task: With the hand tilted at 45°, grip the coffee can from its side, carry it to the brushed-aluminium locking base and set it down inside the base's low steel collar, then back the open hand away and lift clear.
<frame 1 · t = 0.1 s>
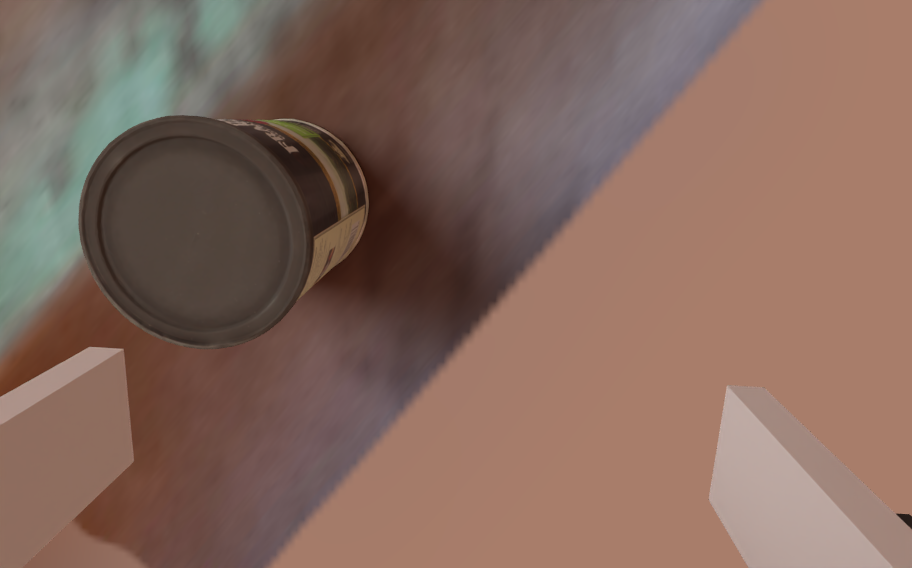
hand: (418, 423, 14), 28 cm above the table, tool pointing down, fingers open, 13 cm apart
coffee can: (291, 200, 41), on the table
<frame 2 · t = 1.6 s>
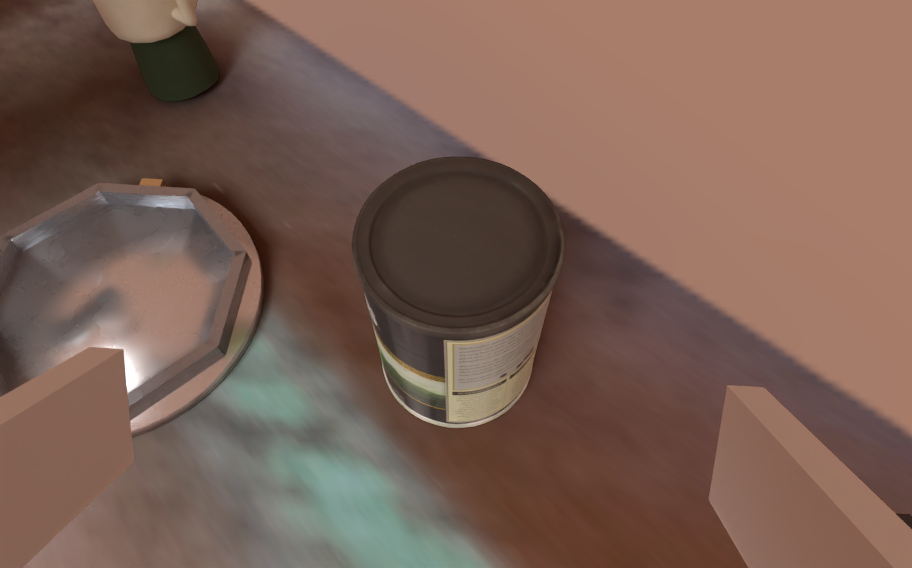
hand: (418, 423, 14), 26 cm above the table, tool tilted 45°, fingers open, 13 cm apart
coffee can: (458, 357, 43), on the table
character mug: (186, 84, 56), on the table
locking base: (121, 305, 45), on the table
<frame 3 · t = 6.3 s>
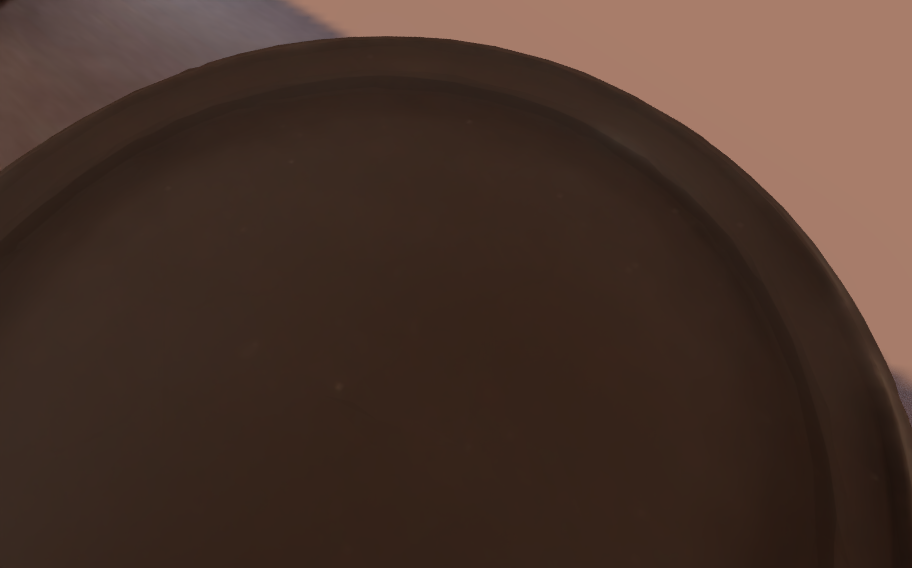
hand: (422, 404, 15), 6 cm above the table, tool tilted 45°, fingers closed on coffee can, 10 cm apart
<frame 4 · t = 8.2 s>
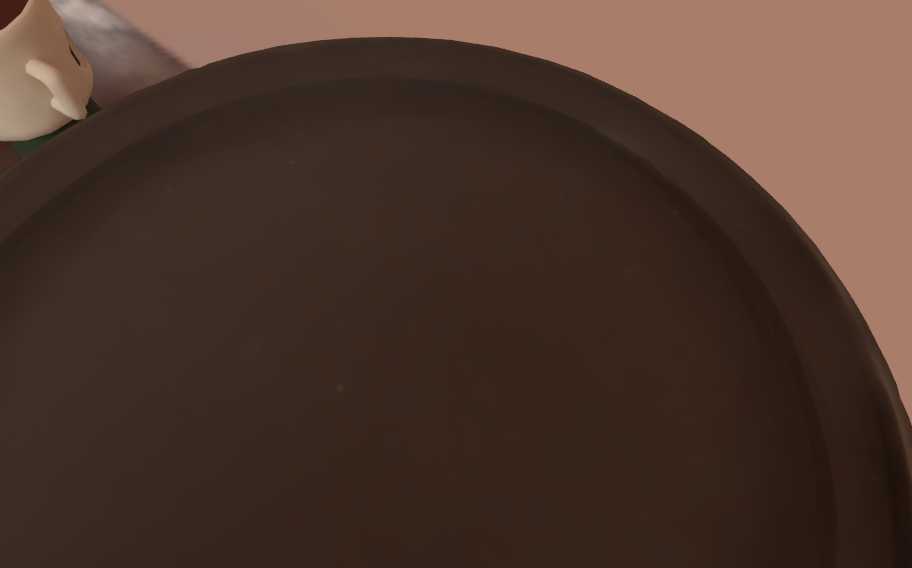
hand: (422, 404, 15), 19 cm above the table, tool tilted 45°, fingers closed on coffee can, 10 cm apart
character mug: (95, 177, 43), on the table
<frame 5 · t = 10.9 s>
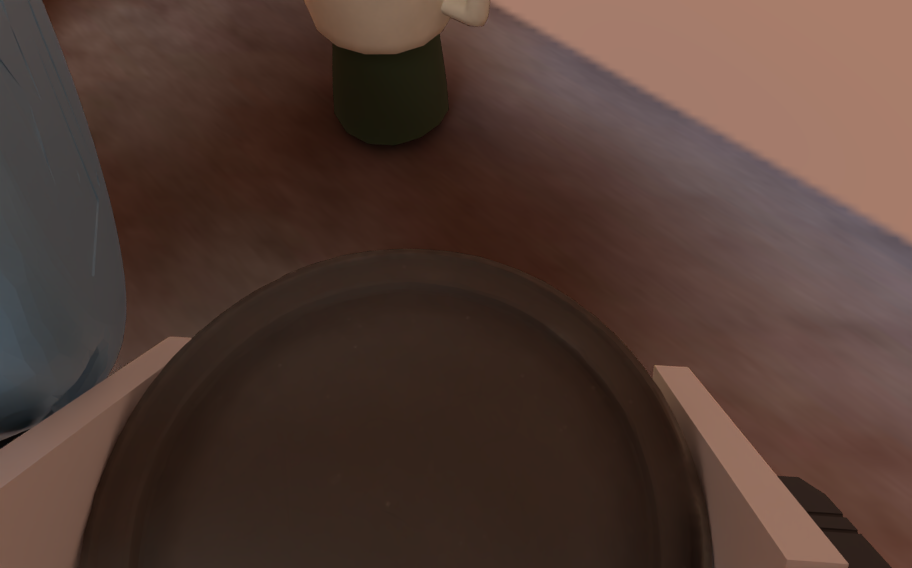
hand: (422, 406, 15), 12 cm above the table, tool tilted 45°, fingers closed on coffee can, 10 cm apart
character mug: (392, 113, 35), on the table
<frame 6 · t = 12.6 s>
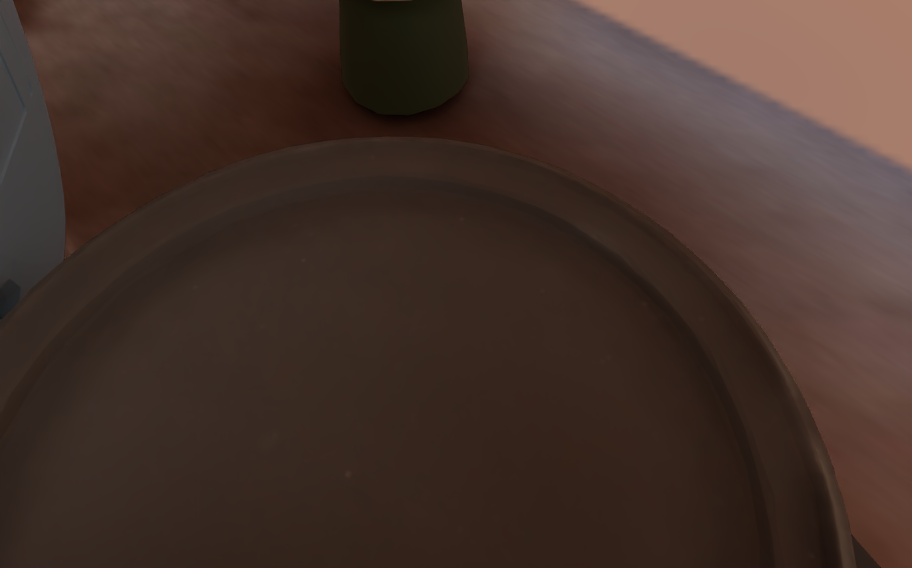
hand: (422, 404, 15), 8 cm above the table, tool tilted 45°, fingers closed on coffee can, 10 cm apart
character mug: (406, 83, 32), on the table
when the fingers open (8 cm above the table, at t = 12.8 s): coffee can stays where it is, resting on arm, locking base.
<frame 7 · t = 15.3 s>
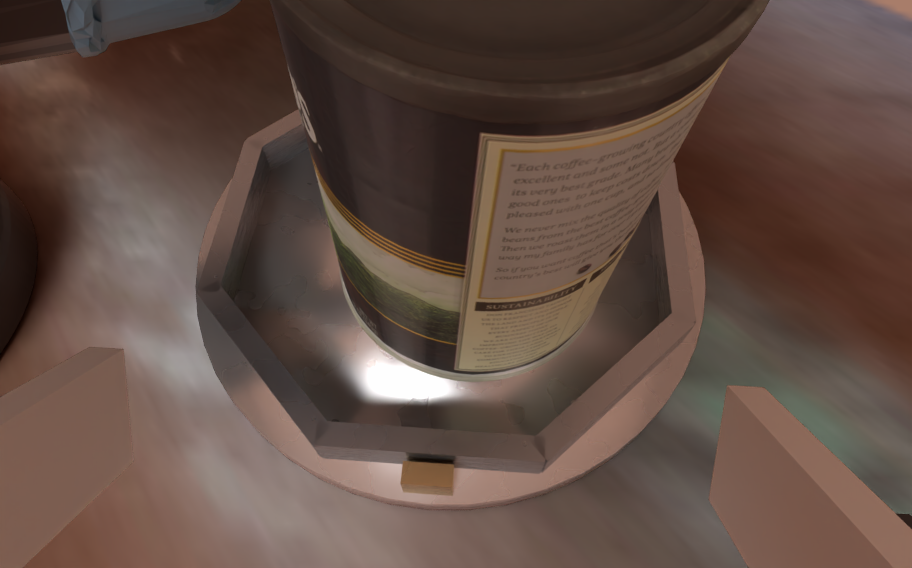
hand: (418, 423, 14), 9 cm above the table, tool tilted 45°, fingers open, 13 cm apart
coffee can: (472, 262, 25), point 1 cm above the table, touching arm, locking base
locking base: (450, 258, 26), on the table
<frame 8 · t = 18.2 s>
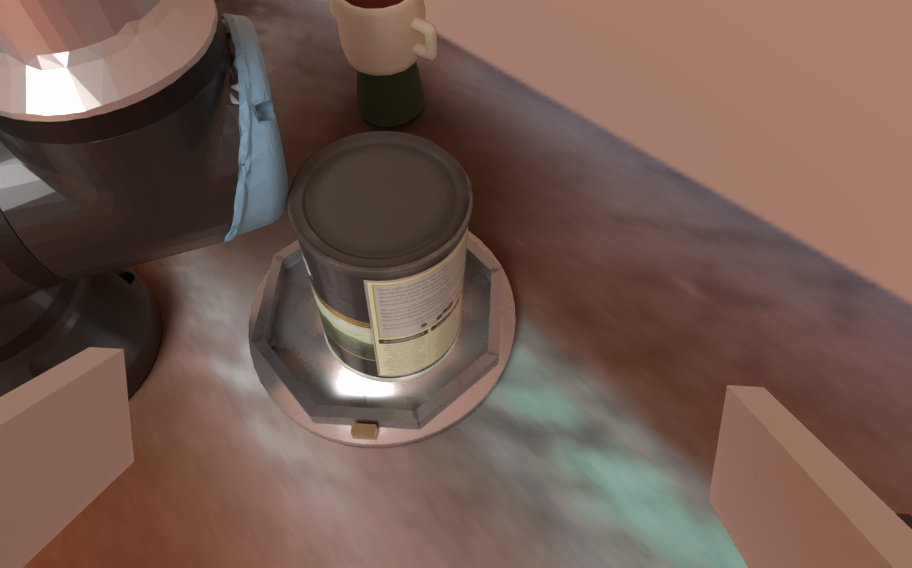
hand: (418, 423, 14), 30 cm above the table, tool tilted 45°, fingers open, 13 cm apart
coffee can: (393, 322, 47), point 1 cm above the table, touching arm, locking base
character mug: (392, 110, 60), on the table
locking base: (384, 319, 49), on the table
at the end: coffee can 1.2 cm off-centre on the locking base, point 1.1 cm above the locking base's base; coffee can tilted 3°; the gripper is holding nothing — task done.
